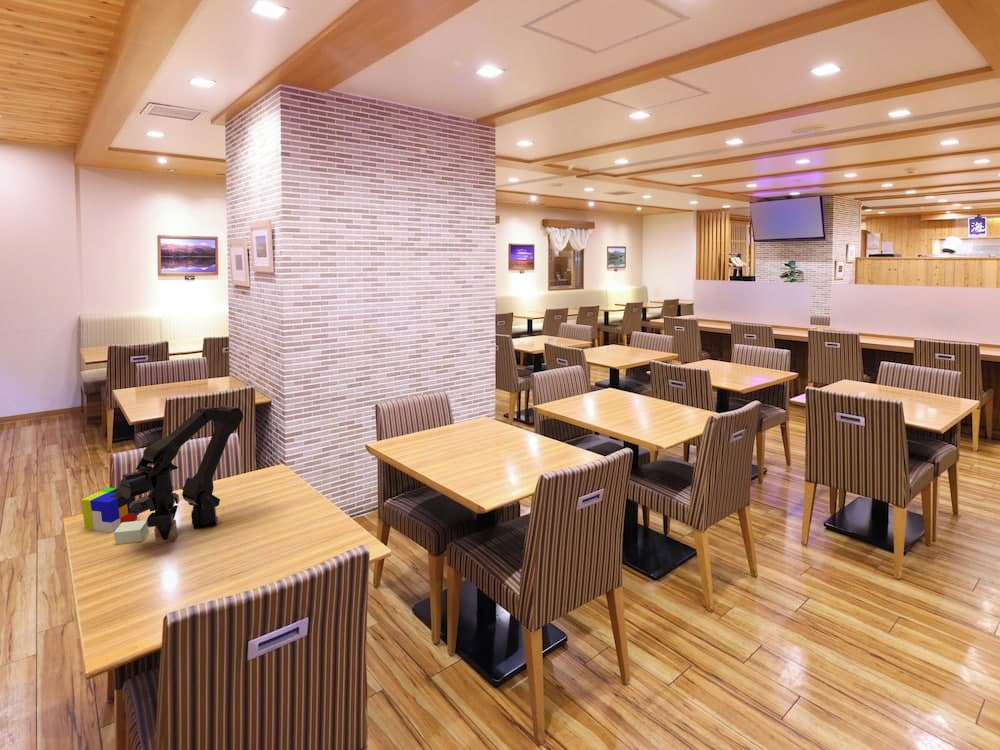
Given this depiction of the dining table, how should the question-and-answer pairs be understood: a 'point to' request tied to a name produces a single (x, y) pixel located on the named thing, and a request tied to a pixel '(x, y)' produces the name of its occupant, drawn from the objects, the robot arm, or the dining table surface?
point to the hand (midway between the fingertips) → (166, 535)
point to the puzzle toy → (106, 510)
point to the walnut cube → (171, 536)
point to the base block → (131, 532)
